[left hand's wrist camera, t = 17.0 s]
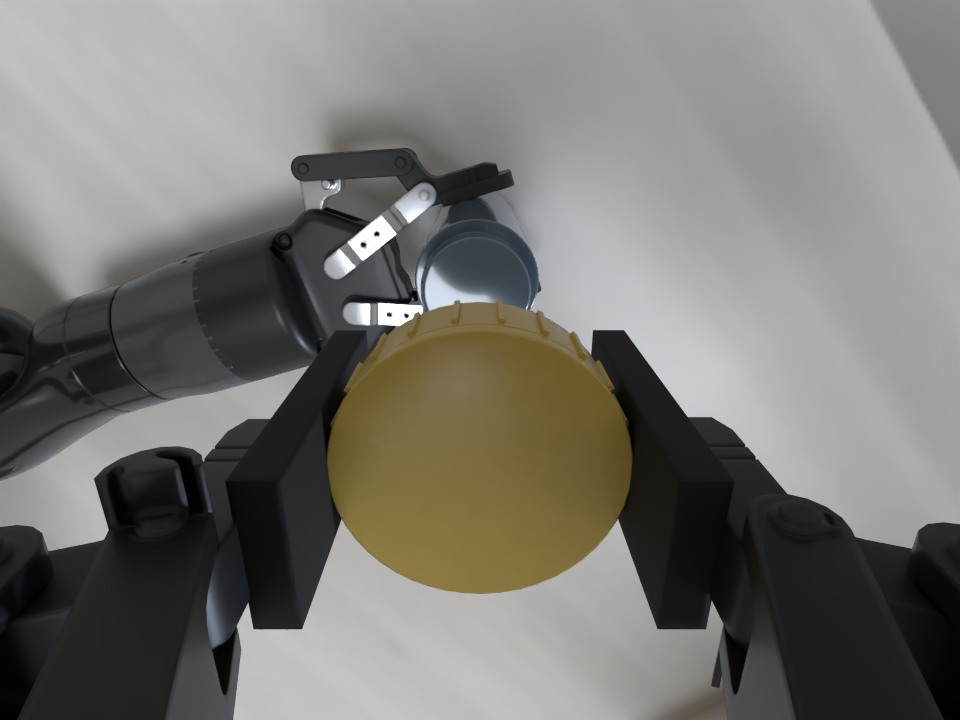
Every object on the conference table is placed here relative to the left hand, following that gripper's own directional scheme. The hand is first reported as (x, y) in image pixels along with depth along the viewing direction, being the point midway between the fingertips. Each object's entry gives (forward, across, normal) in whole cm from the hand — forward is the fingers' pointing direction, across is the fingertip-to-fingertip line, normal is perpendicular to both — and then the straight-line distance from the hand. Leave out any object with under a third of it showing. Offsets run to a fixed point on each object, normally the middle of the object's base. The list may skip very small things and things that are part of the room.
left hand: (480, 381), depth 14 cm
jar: (+23, 0, 0) cm, 23 cm away
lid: (-4, 0, 0) cm, 4 cm away
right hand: (+17, -2, -1) cm, 18 cm away
